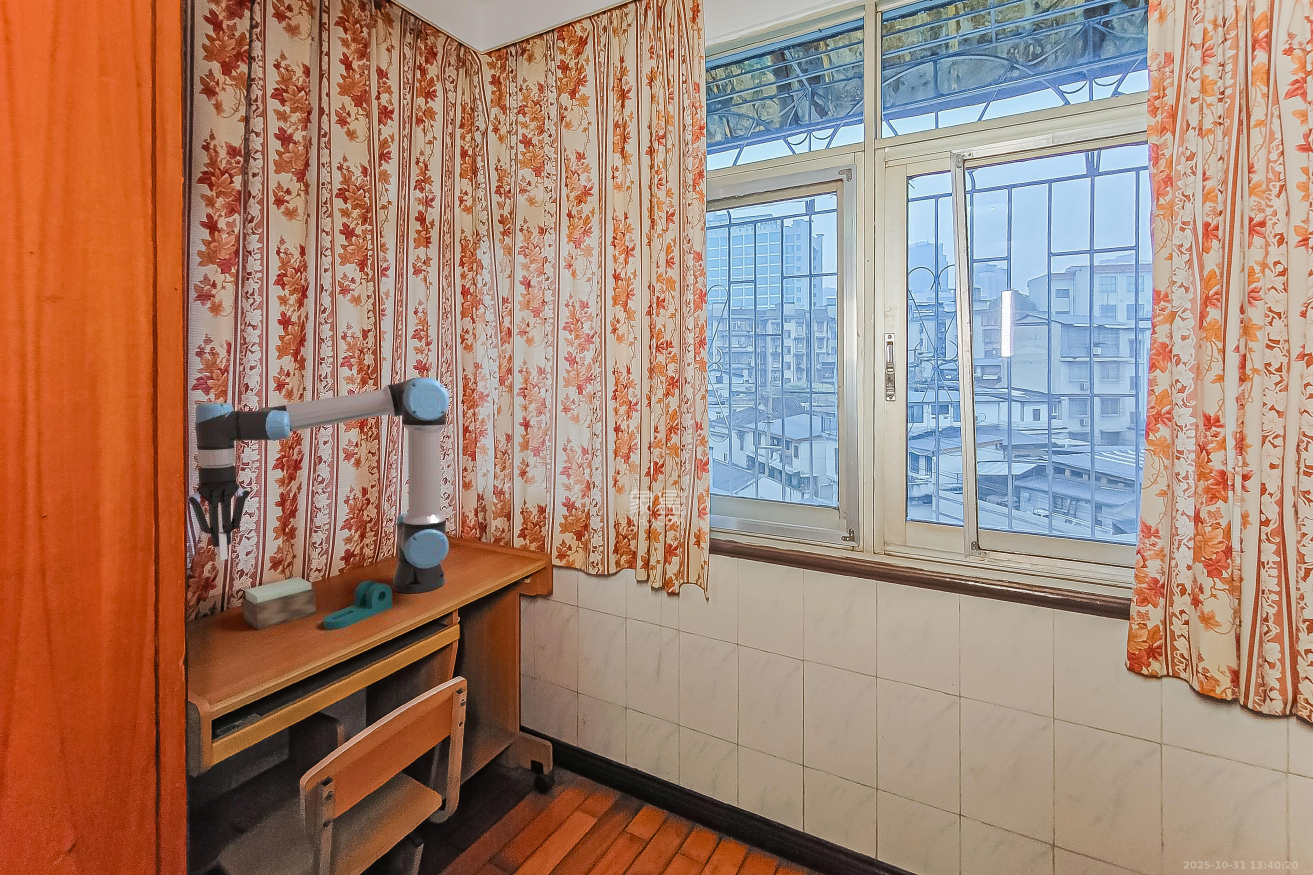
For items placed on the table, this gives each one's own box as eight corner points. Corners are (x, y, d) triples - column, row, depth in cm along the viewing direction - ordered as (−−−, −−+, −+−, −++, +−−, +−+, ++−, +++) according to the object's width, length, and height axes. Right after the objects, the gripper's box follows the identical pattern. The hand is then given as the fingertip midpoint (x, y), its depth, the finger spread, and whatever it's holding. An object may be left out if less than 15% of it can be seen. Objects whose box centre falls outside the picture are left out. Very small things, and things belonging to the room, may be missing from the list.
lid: (299, 585, 169) (298, 576, 169) (311, 592, 164) (311, 583, 164) (245, 598, 159) (245, 589, 158) (257, 606, 154) (257, 596, 153)
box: (300, 604, 170) (299, 580, 170) (316, 613, 164) (314, 588, 164) (243, 620, 159) (242, 594, 159) (258, 630, 153) (256, 603, 153)
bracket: (375, 603, 172) (374, 577, 171) (392, 607, 169) (391, 580, 169) (317, 627, 156) (316, 598, 155) (335, 632, 153) (334, 602, 152)
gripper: (242, 461, 155) (246, 550, 158) (179, 466, 145) (185, 561, 147) (253, 464, 151) (257, 555, 153) (189, 470, 141) (195, 567, 143)
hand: (222, 558), depth 150 cm, fingers closed
